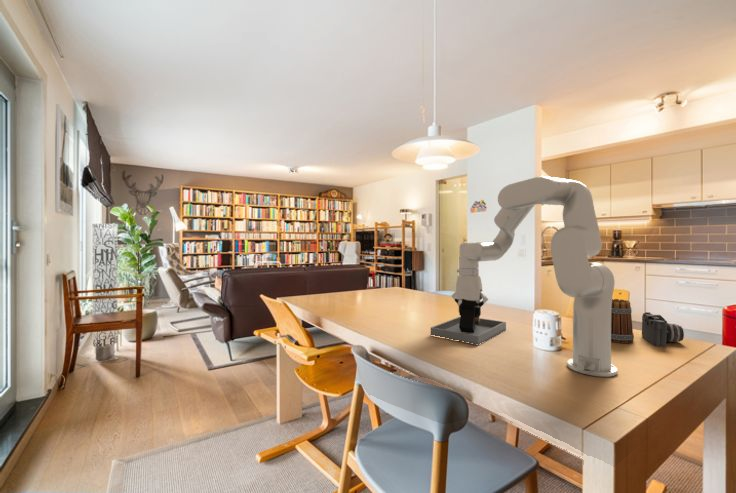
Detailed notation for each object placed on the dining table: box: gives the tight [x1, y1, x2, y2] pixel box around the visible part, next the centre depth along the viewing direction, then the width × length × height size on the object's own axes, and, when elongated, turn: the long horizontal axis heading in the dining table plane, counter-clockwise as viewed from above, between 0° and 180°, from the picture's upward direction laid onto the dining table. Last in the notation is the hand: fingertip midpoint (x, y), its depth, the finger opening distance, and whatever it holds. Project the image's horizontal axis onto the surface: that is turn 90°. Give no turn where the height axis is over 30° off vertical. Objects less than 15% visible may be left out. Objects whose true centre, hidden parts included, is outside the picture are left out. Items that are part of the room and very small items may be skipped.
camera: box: [641, 311, 685, 348], centre depth 127 cm, size 14×11×10 cm
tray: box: [430, 315, 507, 344], centre depth 142 cm, size 28×20×4 cm
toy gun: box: [459, 299, 480, 333], centre depth 142 cm, size 5×18×12 cm
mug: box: [611, 298, 635, 344], centre depth 131 cm, size 16×11×15 cm
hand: (469, 315), depth 142 cm, fingers closed on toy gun, 6 cm apart
